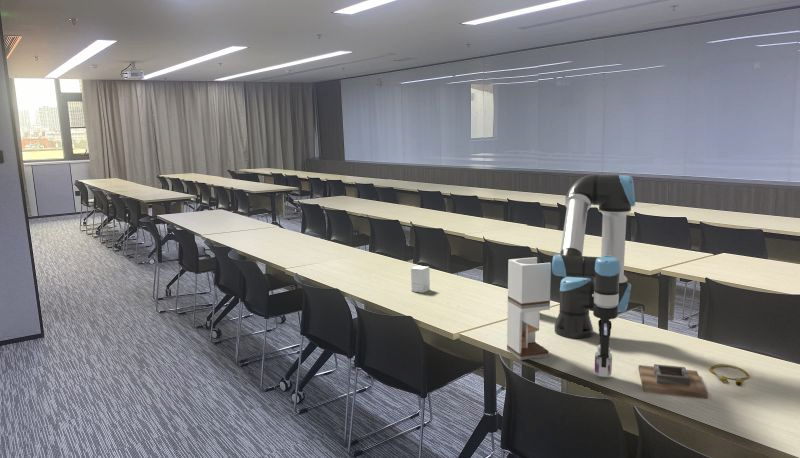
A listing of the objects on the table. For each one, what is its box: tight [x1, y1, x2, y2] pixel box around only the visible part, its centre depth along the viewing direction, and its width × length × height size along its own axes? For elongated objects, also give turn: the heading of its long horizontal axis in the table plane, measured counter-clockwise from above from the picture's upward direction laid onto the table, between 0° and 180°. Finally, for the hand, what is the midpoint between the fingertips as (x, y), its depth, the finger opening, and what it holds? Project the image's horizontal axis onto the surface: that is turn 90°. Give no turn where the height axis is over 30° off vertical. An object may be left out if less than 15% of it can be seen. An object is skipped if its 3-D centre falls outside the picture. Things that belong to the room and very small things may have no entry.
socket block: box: [638, 363, 708, 399], centre depth 186 cm, size 18×18×4 cm
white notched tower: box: [506, 256, 552, 361], centre depth 210 cm, size 11×11×35 cm
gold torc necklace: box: [709, 363, 750, 387], centre depth 191 cm, size 12×16×2 cm
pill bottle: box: [594, 345, 613, 378], centre depth 190 cm, size 5×5×10 cm
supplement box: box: [410, 265, 431, 294], centre depth 300 cm, size 7×7×13 cm
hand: (602, 371), depth 190 cm, fingers closed on pill bottle, 5 cm apart
